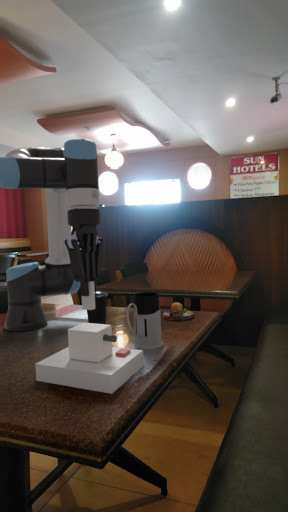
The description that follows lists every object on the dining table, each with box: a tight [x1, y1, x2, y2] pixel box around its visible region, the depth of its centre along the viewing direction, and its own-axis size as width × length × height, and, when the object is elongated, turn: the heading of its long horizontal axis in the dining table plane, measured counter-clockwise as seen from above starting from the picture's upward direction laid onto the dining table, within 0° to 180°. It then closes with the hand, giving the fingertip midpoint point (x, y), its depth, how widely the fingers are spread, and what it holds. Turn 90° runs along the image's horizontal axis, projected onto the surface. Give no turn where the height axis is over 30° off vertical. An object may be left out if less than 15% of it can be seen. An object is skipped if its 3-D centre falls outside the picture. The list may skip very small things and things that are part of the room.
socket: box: [34, 346, 145, 395], centre depth 84 cm, size 20×16×5 cm
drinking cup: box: [86, 281, 109, 325], centre depth 115 cm, size 8×8×20 cm
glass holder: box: [125, 291, 164, 350], centre depth 102 cm, size 9×14×15 cm, turn 147°
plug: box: [67, 322, 118, 363], centre depth 84 cm, size 11×6×11 cm, turn 66°
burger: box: [162, 300, 194, 322], centre depth 136 cm, size 12×12×8 cm
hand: (88, 308), depth 83 cm, fingers closed
